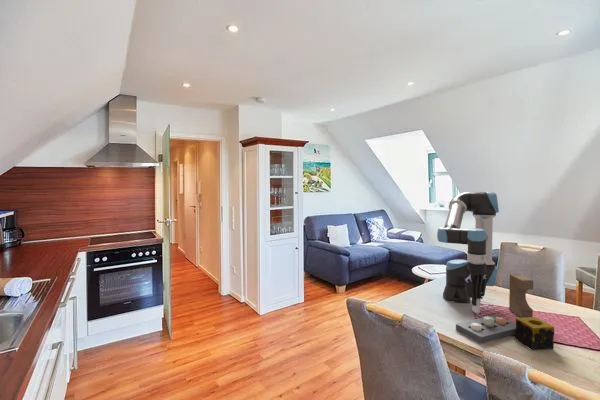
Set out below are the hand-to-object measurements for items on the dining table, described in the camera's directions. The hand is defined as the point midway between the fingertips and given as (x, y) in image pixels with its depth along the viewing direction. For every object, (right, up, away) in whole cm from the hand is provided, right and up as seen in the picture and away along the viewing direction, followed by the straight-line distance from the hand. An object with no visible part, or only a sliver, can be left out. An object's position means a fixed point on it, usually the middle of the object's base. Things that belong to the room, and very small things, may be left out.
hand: (476, 311), depth 147 cm
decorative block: (+35, -9, +20) cm, 42 cm away
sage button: (+7, -8, +3) cm, 11 cm away
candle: (+20, -11, -9) cm, 25 cm away
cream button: (0, -10, 0) cm, 10 cm away
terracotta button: (+15, -9, +5) cm, 19 cm away
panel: (+8, -10, +3) cm, 13 cm away
